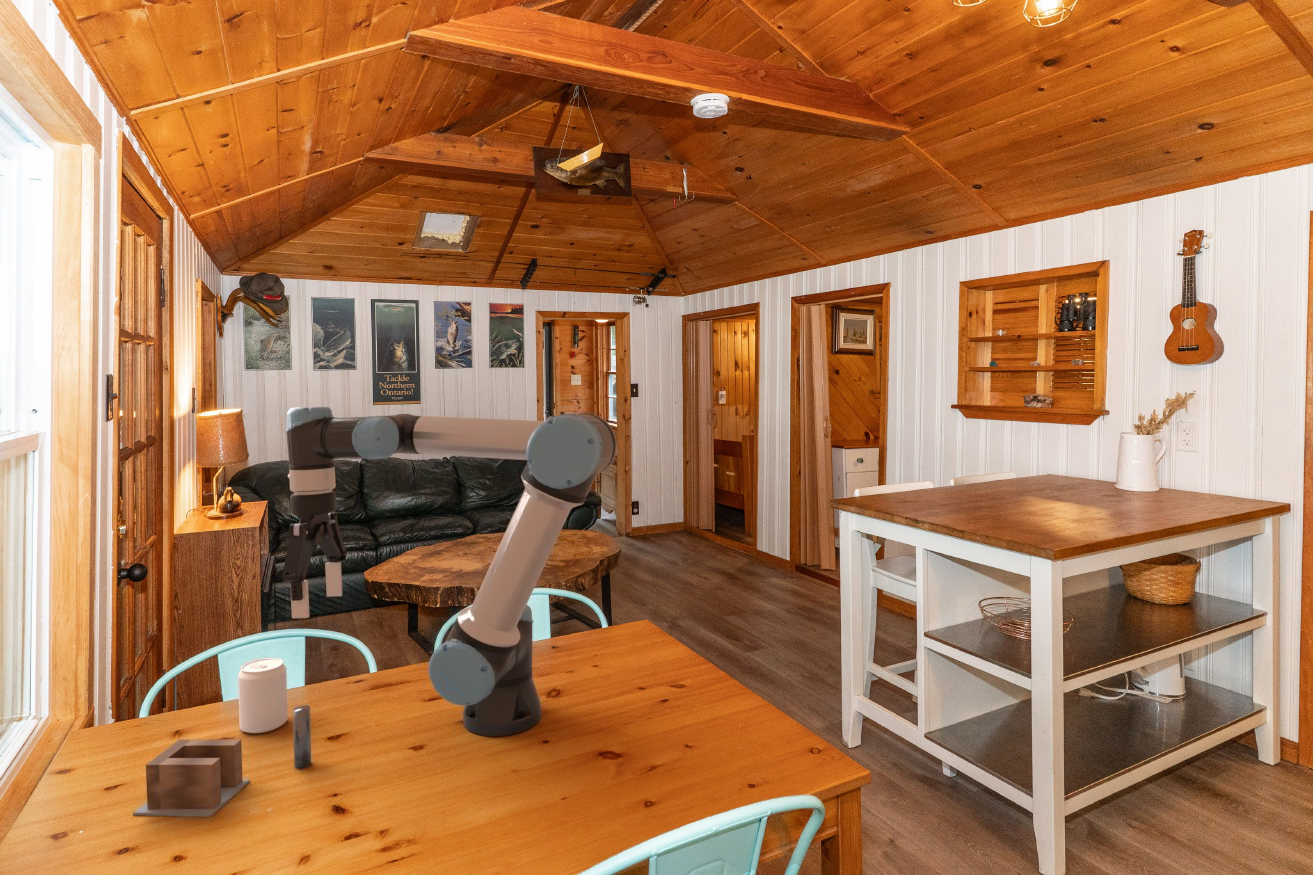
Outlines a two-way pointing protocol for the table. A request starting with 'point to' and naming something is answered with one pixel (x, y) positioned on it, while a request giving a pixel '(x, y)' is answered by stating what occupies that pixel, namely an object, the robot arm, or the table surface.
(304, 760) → the post
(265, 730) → the beverage can
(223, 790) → the mat
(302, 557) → the robot arm
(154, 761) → the c link
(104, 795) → the table surface
